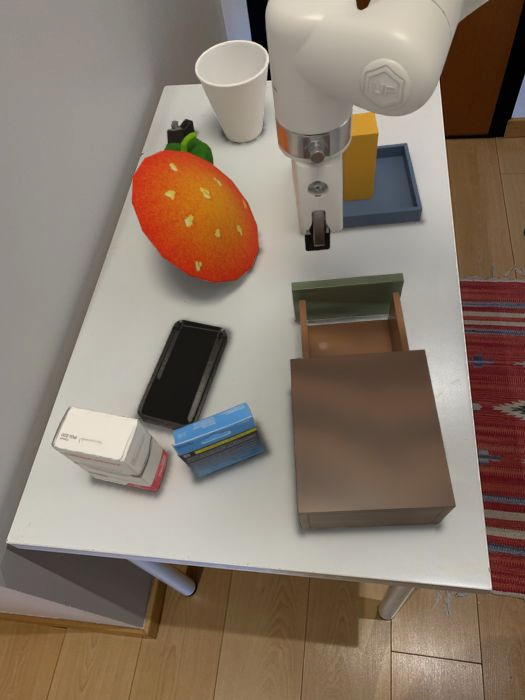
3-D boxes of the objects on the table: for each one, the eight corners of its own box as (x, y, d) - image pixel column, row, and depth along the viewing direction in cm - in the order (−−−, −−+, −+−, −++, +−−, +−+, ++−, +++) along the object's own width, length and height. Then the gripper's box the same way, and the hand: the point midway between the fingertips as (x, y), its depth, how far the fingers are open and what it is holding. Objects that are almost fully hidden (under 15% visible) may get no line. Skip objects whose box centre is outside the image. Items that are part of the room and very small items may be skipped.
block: (369, 178, 81) (374, 111, 70) (372, 198, 79) (378, 132, 68) (341, 181, 81) (342, 115, 71) (343, 201, 79) (345, 136, 69)
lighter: (184, 148, 94) (184, 117, 91) (195, 149, 93) (195, 118, 91) (163, 154, 87) (162, 121, 84) (174, 155, 86) (174, 122, 84)
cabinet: (295, 392, 65) (289, 358, 57) (413, 384, 64) (425, 349, 56) (302, 529, 57) (297, 513, 49) (438, 524, 56) (456, 506, 48)
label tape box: (256, 424, 64) (240, 383, 53) (267, 454, 62) (253, 417, 51) (189, 450, 63) (160, 414, 52) (199, 481, 61) (170, 450, 50)
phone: (228, 328, 69) (190, 430, 63) (229, 333, 70) (192, 433, 64) (175, 318, 71) (133, 415, 65) (177, 322, 72) (136, 418, 66)
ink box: (171, 452, 63) (139, 418, 53) (158, 492, 61) (122, 465, 51) (108, 440, 65) (65, 404, 55) (93, 478, 63) (46, 449, 52)
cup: (226, 103, 95) (212, 36, 84) (286, 112, 91) (279, 43, 81) (200, 146, 90) (182, 80, 79) (262, 157, 87) (252, 90, 76)
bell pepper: (178, 216, 82) (160, 167, 74) (166, 183, 86) (147, 133, 78) (227, 199, 83) (214, 149, 74) (213, 167, 87) (200, 116, 78)
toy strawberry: (152, 306, 74) (113, 237, 61) (176, 201, 84) (147, 122, 71) (252, 307, 72) (234, 236, 59) (265, 199, 82) (252, 117, 69)
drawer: (294, 307, 70) (290, 274, 64) (394, 298, 69) (401, 264, 62) (301, 422, 62) (297, 398, 56) (415, 415, 61) (425, 389, 54)
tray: (405, 155, 83) (407, 142, 81) (419, 221, 76) (422, 209, 74) (299, 166, 84) (298, 154, 82) (304, 232, 78) (303, 220, 75)
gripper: (360, 175, 47) (352, 290, 63) (344, 74, 54) (340, 201, 70) (279, 183, 48) (291, 295, 64) (274, 83, 55) (286, 206, 71)
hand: (317, 245), depth 67 cm, fingers closed
